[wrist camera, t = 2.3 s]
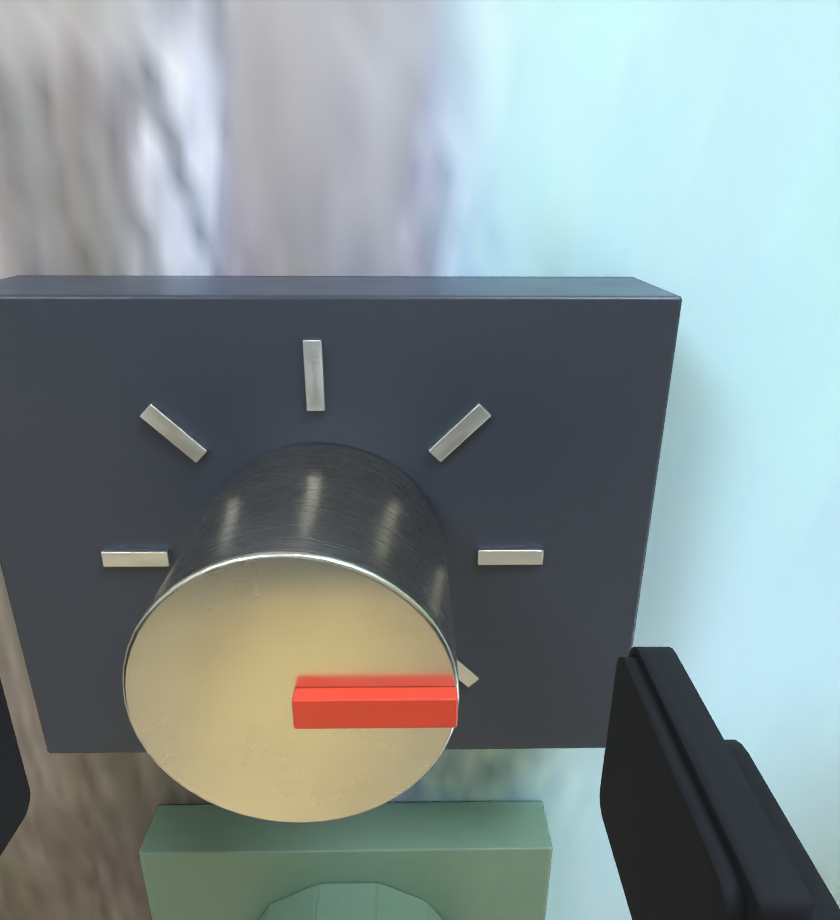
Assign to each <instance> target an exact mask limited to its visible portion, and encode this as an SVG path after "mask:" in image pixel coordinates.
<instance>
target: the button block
mask: <svg viewBox="0 0 840 920" xmlns="http://www.w3.org/2000/svg"><path fill="white" fill-rule="evenodd" d="M552 849H553V848H552V843H551V839H550V834H549V830H548V825H547V821H546V816H545V811H544V807H543V803H542V801H506V802H414V803H385V804H383V805H381V806H379V807H376V808H374V809H371V810H369V811H366V812H363V813H361V814H357V815H353V816H350V817H346V818H342V819H336V820H330V821H324V822H309V823H290V822H276V821H269V820H262V819H257V818H253V817H249V816H244V815H241V814H238V813H235V812H232V811H229V810H226V809H223V808H221V807H218V806H216V805H159V806H158V807H157V809H156V812H155V814H154V817H153V819H152V822H151V824H150V827H149V829H148V832H147V834H146V837H145V839H144V842H143V844H142V847H141V849H140V852H139V857H140V862H141V867H142V872H143V877H144V882H145V887H146V892H147V896H148V901H149V906H150V911H151V916H152V920H545V915H546V906H547V896H548V887H549V877H550V868H551V858H552Z"/></svg>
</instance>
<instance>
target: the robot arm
mask: <svg viewBox="0 0 840 920" xmlns="http://www.w3.org/2000/svg"><path fill="white" fill-rule="evenodd" d="M29 802H30V789H29V785H28V781H27V777H26V774H25V770H24V766H23V762H22V759H21V755H20V751H19V747H18V743H17V740H16V736H15V732H14V728H13V725H12V721H11V717H10V713H9V710H8V706H7V702H6V698H5V695H4V691H3V687H2V683H1V680H0V856H1V854H2V852H3V851H4V849H5V848H6V846H7V844H8V843H9V841H10V840H11V838H12V836H13V835H14V833H15V832H16V830H17V828H18V827H19V825H20V824H21V822H22V820H23V819H24V817H25V815H26V813H27V810H28V807H29ZM600 807H601V814H602V818H603V822H604V825H605V828H606V832H607V835H608V839H609V842H610V845H611V849H612V852H613V856H614V859H615V862H616V866H617V869H618V873H619V876H620V879H621V883H622V886H623V890H624V893H625V896H626V900H627V903H628V907H629V910H630V913H631V917H632V920H840V909H839V907H838V905H837V904H836V902H835V900H834V898H833V897H832V895H831V893H830V892H829V890H828V888H827V886H826V885H825V883H824V881H823V880H822V878H821V876H820V875H819V873H818V871H817V869H816V868H815V866H814V864H813V863H812V861H811V859H810V857H809V856H808V854H807V852H806V851H805V849H804V847H803V846H802V844H801V842H800V840H799V839H798V837H797V835H796V834H795V832H794V830H793V828H792V827H791V825H790V823H789V822H788V820H787V818H786V817H785V815H784V813H783V811H782V810H781V808H780V806H779V805H778V803H777V801H776V799H775V798H774V796H773V794H772V793H771V791H770V789H769V788H768V786H767V784H766V782H765V781H764V779H763V777H762V776H761V774H760V772H759V770H758V769H757V767H756V765H755V764H754V762H753V760H752V758H751V757H750V755H749V753H748V752H747V751H746V749H745V748H744V747H743V745H742V744H741V743H739V742H738V741H736V740H724V739H723V737H722V735H721V733H720V732H719V730H718V728H717V726H716V724H715V723H714V721H713V719H712V717H711V715H710V714H709V712H708V710H707V708H706V706H705V705H704V703H703V701H702V699H701V698H700V696H699V694H698V692H697V690H696V689H695V687H694V685H693V683H692V681H691V680H690V678H689V676H688V674H687V672H686V671H685V669H684V667H683V665H682V663H681V662H680V660H679V658H678V656H677V654H676V653H675V651H674V650H673V649H672V648H670V647H633V648H631V650H630V652H629V656H628V657H619V658H618V660H617V665H616V672H615V680H614V687H613V695H612V702H611V710H610V718H609V725H608V733H607V740H606V748H605V756H604V763H603V771H602V779H601V786H600Z"/></svg>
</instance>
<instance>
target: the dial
mask: <svg viewBox="0 0 840 920" xmlns="http://www.w3.org/2000/svg"><path fill="white" fill-rule="evenodd" d="M122 684H123V693H124V702H125V706H126V710H127V713H128V717H129V720H130V722H131V725H132V727H133V729H134V731H135V733H136V736H137V737H138V739H139V741H140V742H141V744H142V745H143V747H144V748H145V750H146V752H147V753H148V754H149V755H150V756H151V758H152V759H153V760H154V761H155V762H156V764H157V765H158V766H159V767H160V768H161V769H162V770H163V771H164V772H165V773H167V774H168V775H169V776H170V777H171V778H172V779H173V780H174V781H176V782H177V783H178V784H180V785H181V786H183V787H184V788H185V789H187V790H188V791H190V792H191V793H193V794H195V795H197V796H198V797H200V798H202V799H203V800H205V801H207V802H210V803H212V804H214V805H216V806H218V807H221V808H223V809H226V810H229V811H232V812H235V813H238V814H241V815H244V816H249V817H253V818H257V819H262V820H269V821H276V822H290V823H309V822H324V821H330V820H336V819H342V818H346V817H350V816H353V815H357V814H361V813H363V812H366V811H369V810H371V809H374V808H376V807H379V806H381V805H383V804H385V803H387V802H389V801H391V800H392V799H394V798H396V797H397V796H399V795H400V794H402V793H403V792H405V791H406V790H408V789H409V788H411V787H412V786H413V785H414V784H415V783H416V782H418V781H419V780H420V779H421V778H422V777H423V776H424V775H425V774H426V773H427V772H428V771H429V770H430V768H431V767H432V766H433V765H434V764H435V763H436V761H437V760H438V758H439V756H440V755H441V753H442V752H443V750H444V749H445V747H446V745H447V743H448V741H449V738H450V736H451V734H452V732H453V729H454V728H455V727H457V721H458V707H459V698H460V695H459V677H458V667H457V658H456V648H455V639H454V629H453V619H452V610H451V600H450V590H449V581H448V571H447V561H446V552H445V543H444V538H443V533H442V529H441V526H440V523H439V520H438V518H437V515H436V513H435V511H434V510H433V508H432V506H431V504H430V502H429V501H428V500H427V498H426V497H425V495H424V494H423V493H422V491H421V490H420V489H419V488H418V487H417V486H416V485H415V484H414V483H413V482H412V481H411V480H410V479H409V478H408V477H407V476H406V475H404V474H403V473H402V472H401V471H399V470H398V469H397V468H395V467H394V466H392V465H390V464H389V463H387V462H385V461H384V460H382V459H380V458H377V457H375V456H373V455H371V454H369V453H366V452H362V451H359V450H356V449H353V448H348V447H343V446H337V445H325V444H311V445H299V446H294V447H289V448H284V449H281V450H278V451H275V452H271V453H268V454H266V455H264V456H262V457H260V458H258V459H256V460H254V461H252V462H251V463H249V464H248V465H246V466H245V467H243V468H242V469H240V470H239V471H238V472H237V473H236V474H235V475H234V476H232V477H231V478H230V479H229V480H228V481H227V482H226V484H225V485H224V486H223V487H222V488H221V490H220V491H219V492H218V494H217V496H216V497H215V499H214V500H213V502H212V504H211V505H210V507H209V508H208V510H207V512H206V513H205V515H204V517H203V518H202V520H201V521H200V523H199V525H198V526H197V528H196V530H195V531H194V533H193V535H192V536H191V538H190V539H189V541H188V543H187V544H186V546H185V548H184V549H183V551H182V553H181V554H180V556H179V557H178V559H177V561H176V562H175V564H174V566H173V567H172V569H171V570H170V572H169V574H168V575H167V577H166V579H165V580H164V582H163V584H162V585H161V587H160V588H159V590H158V592H157V593H156V595H155V597H154V598H153V600H152V601H151V603H150V605H149V606H148V608H147V610H146V611H145V613H144V615H143V616H142V618H141V619H140V621H139V623H138V624H137V626H136V628H135V629H134V632H133V634H132V636H131V639H130V641H129V644H128V646H127V650H126V655H125V659H124V663H123V679H122Z"/></svg>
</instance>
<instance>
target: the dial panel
mask: <svg viewBox="0 0 840 920" xmlns="http://www.w3.org/2000/svg"><path fill="white" fill-rule="evenodd" d="M681 303H682V299H681V297H680V296H677V295H675V294H672V293H670V292H668V291H665V290H663V289H660V288H658V287H656V286H653V285H651V284H648V283H646V282H643V281H641V280H639V279H636V278H634V277H409V276H14V277H9V278H5V279H1V280H0V564H1V568H2V572H3V576H4V580H5V584H6V588H7V592H8V595H9V599H10V603H11V607H12V611H13V615H14V619H15V623H16V627H17V631H18V635H19V639H20V643H21V647H22V651H23V655H24V659H25V663H26V667H27V671H28V675H29V679H30V683H31V687H32V690H33V694H34V698H35V702H36V706H37V710H38V714H39V718H40V722H41V726H42V730H43V734H44V738H45V742H46V746H47V750H48V752H49V753H105V752H146V750H145V748H144V747H143V745H142V744H141V742H140V741H139V739H138V737H137V736H136V733H135V731H134V729H133V727H132V725H131V722H130V720H129V717H128V713H127V710H126V706H125V702H124V693H123V684H122V679H123V663H124V659H125V655H126V650H127V646H128V644H129V641H130V639H131V636H132V634H133V632H134V629H135V628H136V626H137V624H138V623H139V621H140V619H141V618H142V616H143V615H144V613H145V611H146V610H147V608H148V606H149V605H150V603H151V601H152V600H153V598H154V597H155V595H156V593H157V592H158V590H159V588H160V587H161V585H162V584H163V582H164V580H165V579H166V577H167V575H168V574H169V572H170V570H171V569H172V567H173V566H174V564H175V562H176V561H177V559H178V557H179V556H180V554H181V553H182V551H183V549H184V548H185V546H186V544H187V543H188V541H189V539H190V538H191V536H192V535H193V533H194V531H195V530H196V528H197V526H198V525H199V523H200V521H201V520H202V518H203V517H204V515H205V513H206V512H207V510H208V508H209V507H210V505H211V504H212V502H213V500H214V499H215V497H216V496H217V494H218V492H219V491H220V490H221V488H222V487H223V486H224V485H225V484H226V482H227V481H228V480H229V479H230V478H231V477H232V476H234V475H235V474H236V473H237V472H238V471H239V470H240V469H242V468H243V467H245V466H246V465H248V464H249V463H251V462H252V461H254V460H256V459H258V458H260V457H262V456H264V455H266V454H268V453H271V452H275V451H278V450H281V449H284V448H289V447H294V446H299V445H311V444H325V445H337V446H343V447H348V448H353V449H356V450H359V451H362V452H366V453H369V454H371V455H373V456H375V457H377V458H380V459H382V460H384V461H385V462H387V463H389V464H390V465H392V466H394V467H395V468H397V469H398V470H399V471H401V472H402V473H403V474H404V475H406V476H407V477H408V478H409V479H410V480H411V481H412V482H413V483H414V484H415V485H416V486H417V487H418V488H419V489H420V490H421V491H422V493H423V494H424V495H425V497H426V498H427V500H428V501H429V502H430V504H431V506H432V508H433V510H434V511H435V513H436V515H437V518H438V520H439V523H440V526H441V529H442V533H443V538H444V543H445V552H446V561H447V571H448V581H449V590H450V600H451V610H452V619H453V629H454V639H455V648H456V658H457V667H458V677H459V695H460V698H459V707H458V721H457V727H455V728H454V729H453V732H452V734H451V736H450V738H449V741H448V743H447V745H446V747H445V749H525V748H606V740H607V733H608V725H609V718H610V710H611V702H612V695H613V687H614V680H615V672H616V665H617V660H618V658H619V657H628V656H629V652H630V650H631V648H632V646H633V639H634V632H635V625H636V618H637V611H638V604H639V597H640V590H641V583H642V576H643V569H644V562H645V555H646V548H647V541H648V534H649V527H650V520H651V513H652V506H653V499H654V492H655V485H656V478H657V471H658V464H659V457H660V450H661V443H662V436H663V429H664V422H665V415H666V408H667V401H668V394H669V387H670V380H671V373H672V366H673V359H674V352H675V345H676V338H677V331H678V324H679V317H680V310H681Z"/></svg>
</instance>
